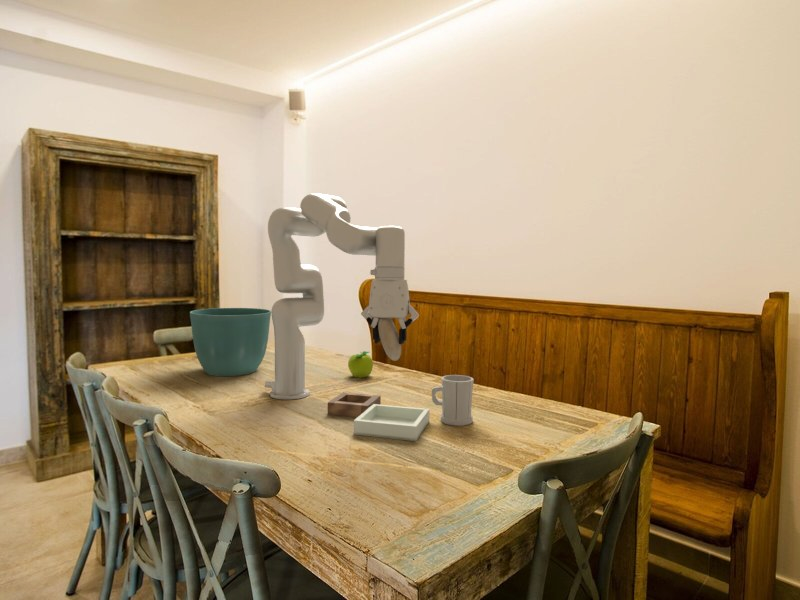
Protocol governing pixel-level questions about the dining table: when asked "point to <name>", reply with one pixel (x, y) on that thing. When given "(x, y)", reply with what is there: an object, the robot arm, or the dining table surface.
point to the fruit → (360, 365)
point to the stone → (389, 338)
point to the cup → (455, 399)
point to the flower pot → (230, 339)
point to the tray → (392, 422)
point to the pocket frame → (352, 404)
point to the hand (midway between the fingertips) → (389, 342)
